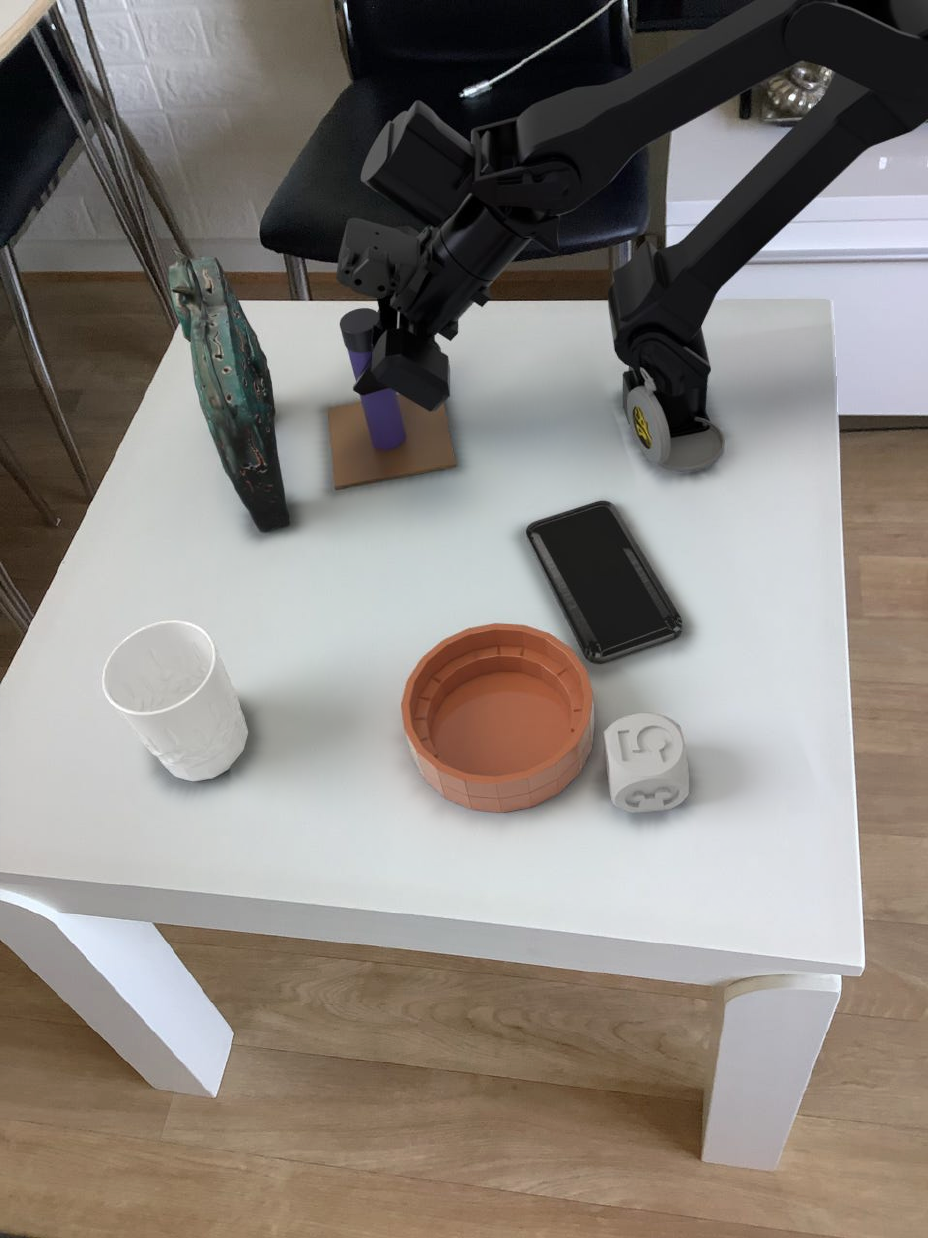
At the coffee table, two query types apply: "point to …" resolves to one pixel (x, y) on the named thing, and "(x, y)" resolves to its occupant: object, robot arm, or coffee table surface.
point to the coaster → (415, 455)
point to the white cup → (177, 698)
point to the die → (646, 763)
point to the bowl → (499, 717)
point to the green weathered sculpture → (231, 385)
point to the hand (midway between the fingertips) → (358, 378)
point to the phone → (603, 582)
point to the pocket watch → (662, 449)
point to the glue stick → (380, 404)
